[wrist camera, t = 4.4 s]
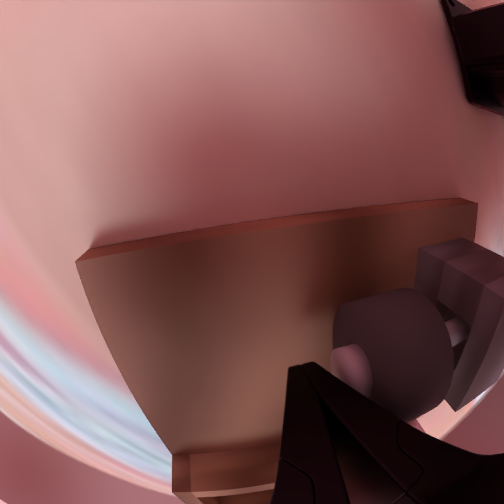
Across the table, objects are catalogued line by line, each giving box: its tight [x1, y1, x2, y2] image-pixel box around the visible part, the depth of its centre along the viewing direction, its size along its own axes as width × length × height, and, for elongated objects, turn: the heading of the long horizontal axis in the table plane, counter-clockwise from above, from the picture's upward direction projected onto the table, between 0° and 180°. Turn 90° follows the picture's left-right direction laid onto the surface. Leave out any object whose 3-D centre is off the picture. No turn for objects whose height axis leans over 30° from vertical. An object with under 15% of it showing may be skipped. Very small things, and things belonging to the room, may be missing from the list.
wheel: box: [330, 288, 472, 423], centre depth 8 cm, size 6×4×4 cm
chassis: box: [75, 198, 504, 504], centre depth 11 cm, size 16×22×6 cm
